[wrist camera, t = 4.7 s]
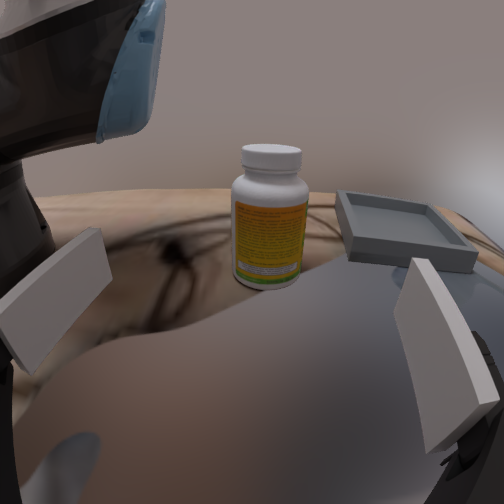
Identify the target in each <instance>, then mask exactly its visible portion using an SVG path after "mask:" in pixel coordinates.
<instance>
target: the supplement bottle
mask: <svg viewBox="0 0 504 504" xmlns="http://www.w3.org/2000/svg"><path fill="white" fill-rule="evenodd" d="M301 157H302V151H301V149H299V148H296V147H291V146H284V145H276V144H252V145H246V146H243V147H242V159H241V163H242V168H243V169H245V174H243V175H241V176H240V177H238V178H237V179H236V180H235V181H234V182H233V185H232V191H231V221H232V269H233V273H234V275H235V277H236V278H237V279H238V280H239V281H240V282H241V283H243V284H245V285H247V286H249V287H252V288H255V289H260V290H277V289H281V288H285V287H287V286H289V285H291V284H292V283H294V282H295V281H296V280H297V279H298V277H299V275H300V271H301V264H302V255H303V246H304V237H305V228H306V218H307V209H308V199H309V189H308V186H307V184H306V183H305V182H304V181H303V180H302V179H301V178H299V177H297V172H299V171H300V170H301V168H300V167H301V159H302V158H301Z"/></svg>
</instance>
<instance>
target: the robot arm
mask: <svg viewBox="0 0 504 504" xmlns="http://www.w3.org/2000/svg"><path fill="white" fill-rule="evenodd" d="M165 8H166V2H165V0H5V9H4V12H3V14H2V16H1V18H0V504H22V500H21V495H20V490H19V485H18V479H17V472H16V466H15V457H14V447H13V430H12V389H13V372H14V369H13V365H12V364H11V360H12V359H14V360H15V362H16V363H17V364H18V366H19V367H20V369H22V370H23V371H25V372H26V373H28V374H29V375H31V376H32V375H33V373H34V372H35V371H36V369H37V368H38V367H39V365H40V364H41V363H42V361H43V360H44V359H45V358H46V356H47V355H48V354H49V353H50V351H51V350H52V349H53V347H54V346H55V345H56V344H57V343H58V341H59V340H60V339H61V338H62V336H63V335H64V334H65V333H66V332H67V330H68V329H69V328H70V327H71V326H72V324H73V323H74V322H75V321H76V320H77V319H78V317H79V316H80V315H81V314H82V313H83V312H84V311H85V309H86V308H87V307H88V306H89V305H90V304H91V303H92V302H93V300H94V299H95V298H96V297H97V296H98V295H99V294H100V293H101V292H102V290H103V289H104V288H105V287H106V286H107V285H108V284H109V283H110V282H111V281H112V280H113V278H112V274H111V271H110V267H109V263H108V259H107V255H106V251H105V246H104V242H103V237H102V233H101V228H90V227H89V228H87V229H86V230H84V231H83V232H82V233H80V234H79V235H78V236H76V237H75V238H73V239H72V240H71V241H69V242H68V243H67V244H65V245H64V246H63V247H62V248H60V249H59V250H58V251H56V252H55V253H54V254H53V252H54V248H55V245H54V241H53V237H52V234H51V230H50V227H49V225H48V223H47V221H46V220H45V218H44V216H43V215H42V213H41V211H40V209H39V208H38V206H37V204H36V202H35V201H34V199H33V197H32V195H31V193H30V191H29V190H28V188H27V186H26V183H25V180H24V175H23V169H22V161H21V159H24V158H28V157H32V156H35V155H39V154H43V153H47V152H51V151H56V150H60V149H64V148H69V147H74V146H79V145H84V144H89V143H95V142H96V143H97V144H100V143H102V142H103V141H104V140H108V139H112V138H117V137H123V136H128V135H133V134H135V133H137V132H139V131H140V130H142V129H143V128H144V127H145V126H146V124H147V123H148V121H149V119H150V116H151V113H152V109H153V103H154V97H155V90H156V83H157V76H158V68H159V61H160V54H161V46H162V39H163V30H164V23H165ZM52 254H53V255H52ZM393 314H394V317H395V320H396V324H397V327H398V330H399V334H400V337H401V340H402V344H403V347H404V351H405V355H406V358H407V362H408V366H409V370H410V374H411V378H412V382H413V386H414V391H415V395H416V400H417V405H418V410H419V415H420V420H421V426H422V432H423V438H424V444H425V452H426V454H430V453H436V452H441V451H445V450H447V449H448V448H449V447H451V446H452V445H453V444H454V443H456V442H457V444H458V449H457V450H456V451H455V452H454V453H453V454H451V455H450V456H448V457H447V458H446V459H444V460H443V462H442V463H441V464H440V465H441V466H443V465H444V464H446V463H447V462H449V463H448V465H447V467H446V469H445V471H444V472H443V474H442V476H441V477H440V479H439V481H438V482H437V484H436V486H435V487H434V489H433V490H432V492H431V494H430V495H429V497H428V498H427V500H426V501H425V503H424V504H504V382H503V380H502V378H501V375H500V373H499V371H498V368H497V366H496V365H495V362H494V359H493V357H492V356H490V354H491V353H490V351H489V349H488V347H487V345H486V343H485V341H484V340H483V339H482V338H481V337H480V336H479V335H478V334H477V332H476V331H470V329H469V327H468V325H467V323H466V322H465V320H464V318H463V316H462V314H461V312H460V310H459V309H458V307H457V305H456V303H455V302H454V300H453V298H452V296H451V295H450V293H449V291H448V290H447V288H446V286H445V285H444V283H443V281H442V280H441V278H440V277H439V275H438V273H437V272H436V270H435V269H434V267H433V266H432V264H431V263H430V261H429V260H428V259H422V258H413V257H412V259H411V262H410V266H409V269H408V272H407V275H406V278H405V281H404V284H403V287H402V290H401V293H400V296H399V298H398V301H397V304H396V306H395V309H394V312H393Z"/></svg>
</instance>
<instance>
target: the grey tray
mask: <svg viewBox="0 0 504 504" xmlns="http://www.w3.org/2000/svg"><path fill="white" fill-rule="evenodd" d="M335 211H336V215H337V218H338V222H339V225H340V229H341V233H342V237H343V241H344V245H345V249H346V253H347V257H348V261H352V262H361V263H371V264H381V265H391V266H400V267H409V266H410V262H411V259H412V257H413V258H422V259H428V260H429V261H430V263H431V264H432V266H433V267H434V269H435V270H440V271H450V272H459V273H469V274H471V272H472V269H473V267H474V264H475V262H476V259H477V256H478V254H479V252H478V251H477V250H476V248H475V247H474V246H473V245H472V244H471V243H470V242H469V241H468V240H467V239H466V238H465V237H464V236H463V235H462V234H461V233H460V232H459V231H458V230H457V229H456V228H455V227H454V226H453V225H452V224H451V223H450V222H449V221H448V220H447V219H446V218H445V217H444V216H443V215H442V214H441V213H440V212H439V211H438V210H437V209H436V208H435V207H434V206H433V205H431V204H429V203H424V202H418V201H413V200H406V199H401V198H395V197H388V196H382V195H375V194H368V193H361V192H353V191H345V190H337V192H336V200H335Z"/></svg>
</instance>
